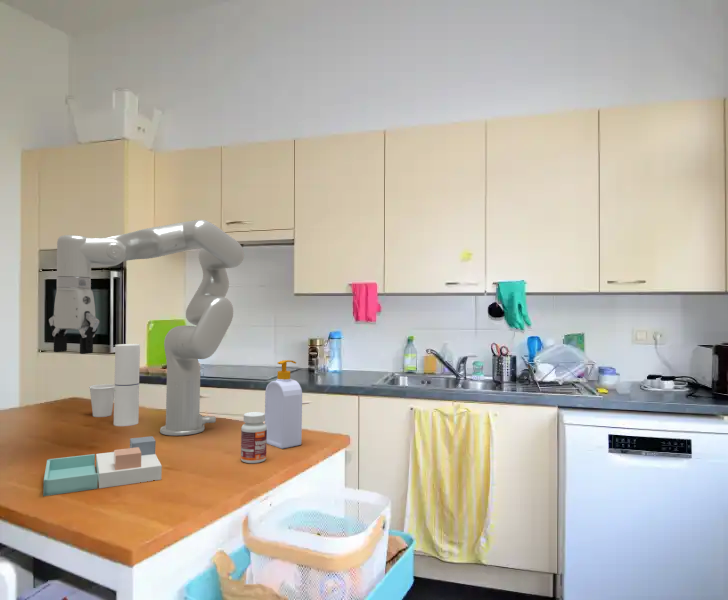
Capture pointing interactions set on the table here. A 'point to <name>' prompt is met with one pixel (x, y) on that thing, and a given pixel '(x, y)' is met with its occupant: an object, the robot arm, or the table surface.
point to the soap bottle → (283, 410)
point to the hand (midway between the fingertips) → (73, 352)
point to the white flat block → (126, 471)
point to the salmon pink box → (127, 458)
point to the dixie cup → (102, 399)
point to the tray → (70, 475)
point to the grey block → (144, 444)
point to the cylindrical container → (126, 384)
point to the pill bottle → (253, 438)
